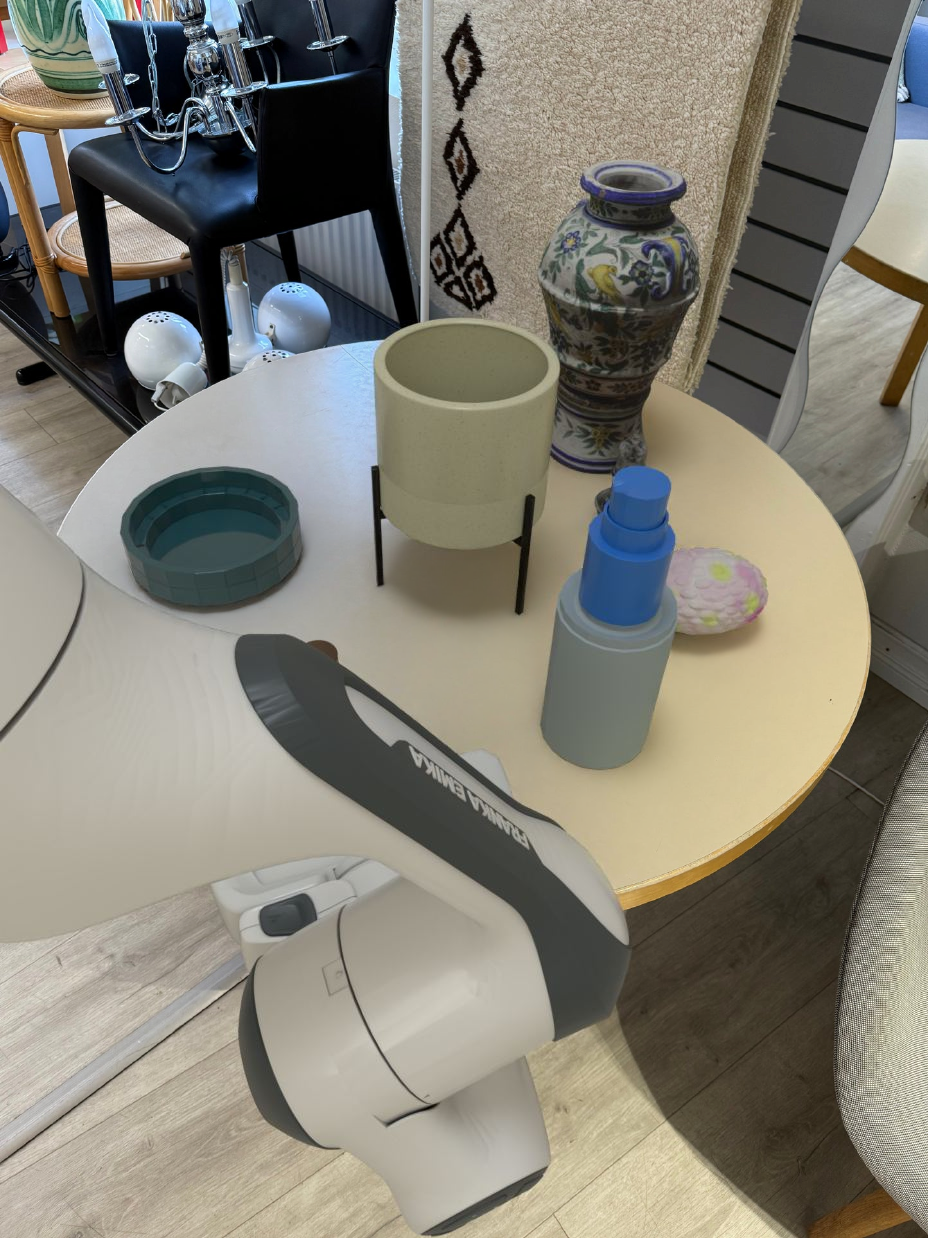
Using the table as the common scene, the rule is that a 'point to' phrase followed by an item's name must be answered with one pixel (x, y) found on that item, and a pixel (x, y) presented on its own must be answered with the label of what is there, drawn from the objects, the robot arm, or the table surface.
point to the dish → (212, 535)
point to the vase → (614, 304)
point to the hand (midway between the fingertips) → (334, 745)
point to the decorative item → (715, 590)
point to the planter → (463, 435)
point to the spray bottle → (613, 628)
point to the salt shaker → (624, 465)
